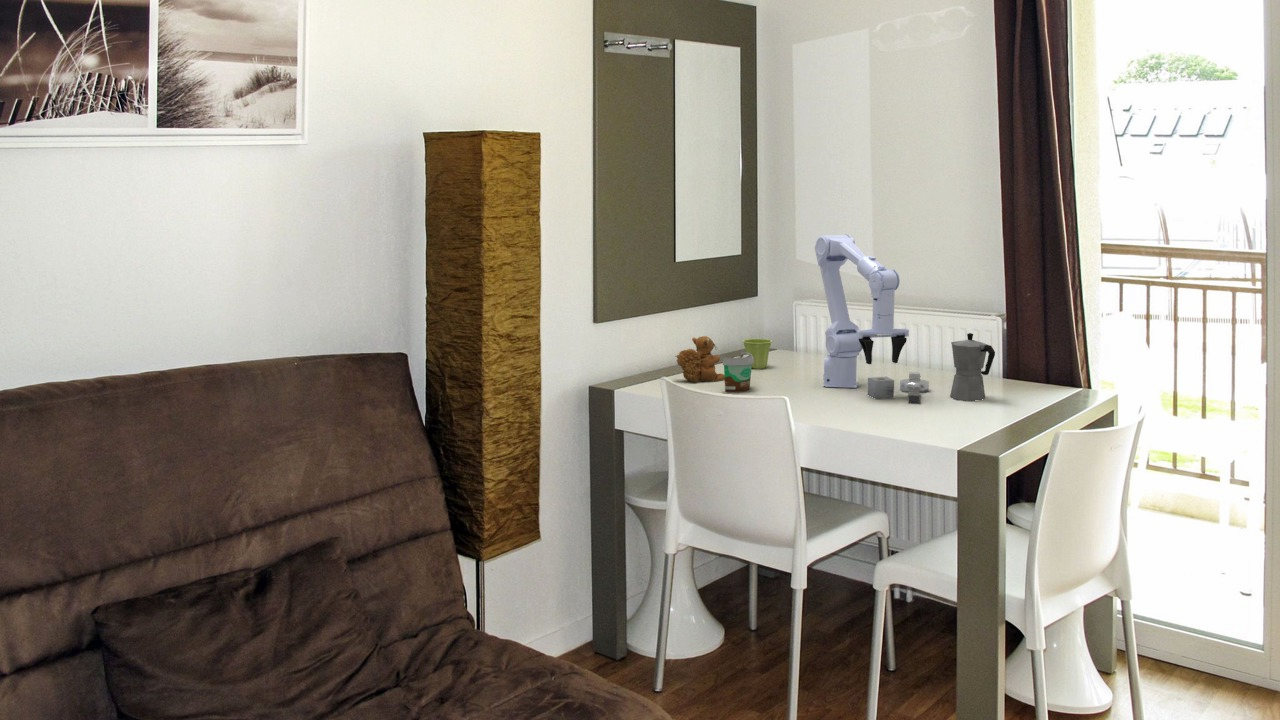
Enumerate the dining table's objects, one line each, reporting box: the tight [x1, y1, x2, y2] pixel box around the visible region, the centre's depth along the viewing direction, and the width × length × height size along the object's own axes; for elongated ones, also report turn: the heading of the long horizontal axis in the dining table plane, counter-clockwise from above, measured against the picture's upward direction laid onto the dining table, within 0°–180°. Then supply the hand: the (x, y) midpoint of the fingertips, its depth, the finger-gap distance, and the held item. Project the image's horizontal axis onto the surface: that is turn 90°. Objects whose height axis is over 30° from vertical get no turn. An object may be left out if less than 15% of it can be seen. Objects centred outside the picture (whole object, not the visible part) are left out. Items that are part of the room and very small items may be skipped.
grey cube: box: [867, 376, 895, 400], centre depth 299 cm, size 5×5×5 cm
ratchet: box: [899, 371, 930, 405], centre depth 301 cm, size 8×22×5 cm, turn 166°
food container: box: [722, 351, 754, 393], centre depth 310 cm, size 12×6×10 cm, turn 148°
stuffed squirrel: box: [675, 335, 725, 383], centre depth 325 cm, size 10×14×13 cm
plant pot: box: [742, 338, 773, 370], centre depth 346 cm, size 9×9×9 cm
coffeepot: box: [949, 332, 996, 402], centre depth 294 cm, size 15×9×18 cm, turn 29°
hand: (881, 363), depth 298 cm, fingers open, 7 cm apart
